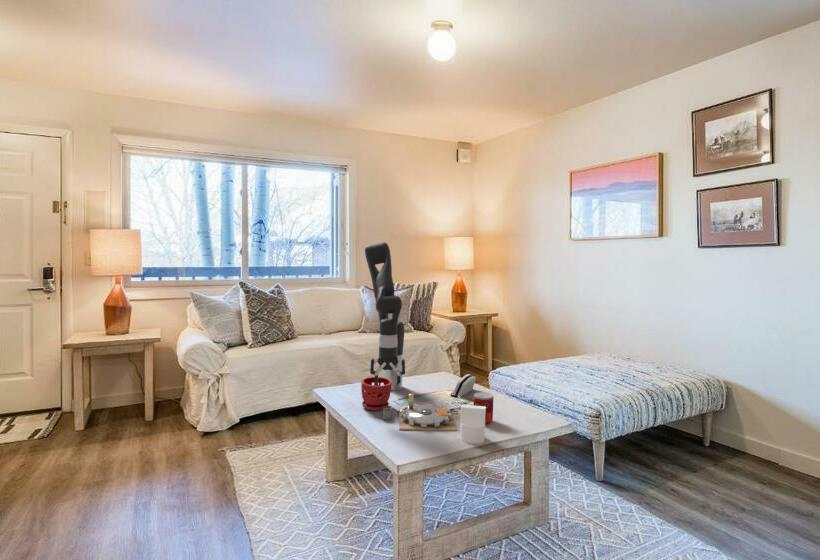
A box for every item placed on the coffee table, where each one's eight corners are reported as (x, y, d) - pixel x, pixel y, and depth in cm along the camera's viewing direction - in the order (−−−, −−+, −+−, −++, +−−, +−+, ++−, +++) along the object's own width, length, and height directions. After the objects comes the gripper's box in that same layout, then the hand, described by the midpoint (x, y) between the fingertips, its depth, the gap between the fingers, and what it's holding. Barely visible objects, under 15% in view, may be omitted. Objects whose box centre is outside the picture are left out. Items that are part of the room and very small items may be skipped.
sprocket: (390, 418, 190) (391, 399, 189) (420, 405, 206) (421, 387, 205) (432, 431, 177) (432, 410, 177) (460, 416, 193) (461, 397, 193)
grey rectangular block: (383, 415, 196) (383, 405, 196) (391, 415, 196) (391, 405, 196) (382, 420, 190) (382, 410, 190) (390, 420, 190) (390, 410, 190)
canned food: (469, 420, 192) (469, 394, 191) (482, 416, 197) (483, 390, 196) (483, 426, 186) (484, 399, 185) (496, 421, 191) (497, 395, 190)
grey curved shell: (463, 387, 237) (470, 369, 234) (471, 391, 234) (478, 374, 232) (449, 396, 222) (456, 377, 220) (457, 401, 220) (465, 382, 218)
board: (399, 410, 202) (399, 408, 202) (450, 410, 203) (450, 408, 203) (399, 430, 180) (399, 428, 180) (456, 430, 181) (456, 428, 181)
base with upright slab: (459, 442, 170) (460, 410, 170) (461, 432, 179) (461, 401, 178) (484, 444, 169) (485, 412, 168) (484, 434, 178) (485, 403, 177)
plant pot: (359, 412, 199) (359, 384, 198) (363, 402, 212) (363, 375, 211) (390, 413, 198) (390, 385, 197) (392, 402, 211) (392, 376, 210)
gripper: (370, 346, 187) (369, 386, 188) (405, 347, 187) (405, 387, 188) (371, 342, 194) (370, 381, 196) (405, 343, 195) (404, 381, 196)
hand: (387, 384), depth 192 cm, fingers open, 8 cm apart
